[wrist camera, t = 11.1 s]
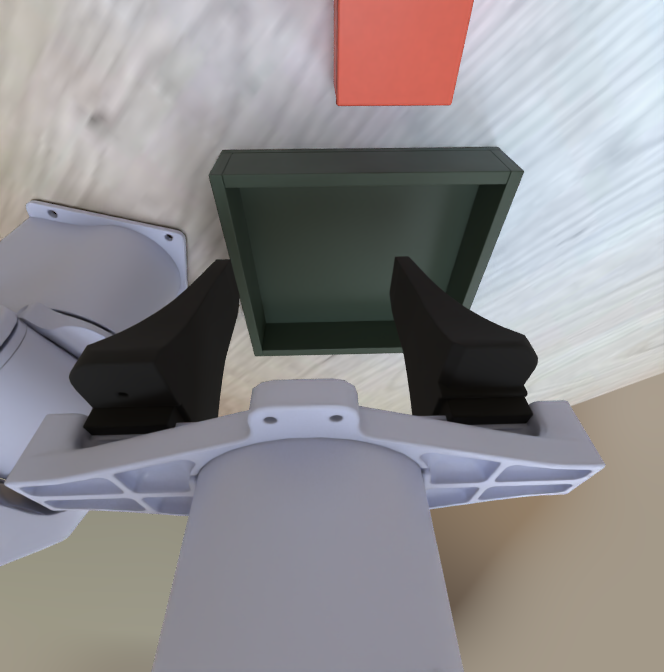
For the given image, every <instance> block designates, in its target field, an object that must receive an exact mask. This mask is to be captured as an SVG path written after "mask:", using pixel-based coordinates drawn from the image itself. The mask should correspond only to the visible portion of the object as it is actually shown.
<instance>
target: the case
mask: <svg viewBox="0 0 664 672" xmlns="http://www.w3.org/2000/svg"><path fill="white" fill-rule="evenodd" d="M473 2H474V0H334V88H335V94H336V104H337V105H338V106H411V105H451V103H452V99H453V94H454V90H455V85H456V81H457V76H458V71H459V67H460V62H461V57H462V53H463V48H464V44H465V39H466V34H467V30H468V25H469V20H470V16H471V11H472V7H473Z"/></svg>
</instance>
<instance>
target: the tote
mask: <svg viewBox="0 0 664 672" xmlns="http://www.w3.org/2000/svg"><path fill="white" fill-rule="evenodd" d="M523 173H524V171H523V170H522V169H521V168H520V167H519V166H518V165H517V164H516V163H515V162H514V161H513V160H511V159H510V158H509V157H508V156H507V155H506V154H505V153H504V152H503V151H502V150H501V149H500V148H498V147H475V148H382V149H290V150H222V152H221V154H220V156H219V157H218V159H217V161H216V163H215V165H214V166H213V168H212V170H211V172H210V173H209V179H210V183H211V187H212V191H213V195H214V199H215V202H216V206H217V210H218V214H219V218H220V222H221V226H222V230H223V234H224V238H225V242H226V245H227V249H228V253H229V257H230V259H231V263H232V267H233V271H234V275H235V279H236V283H237V287H238V291H239V295H240V300H241V304H242V308H243V312H244V316H245V320H246V324H247V327H248V331H249V335H250V339H251V343H252V347H253V351H254V355H255V356H290V355H333V354H376V353H403V350H402V346H401V343H400V339H399V336H398V332H397V329H396V325H395V322H394V318H393V314H392V310H391V303H390V295H389V292H390V285H391V279H392V273H393V266H394V260H395V257H397V256H409V257H410V258H411V259H412V260H413V261H414V262H415V263H416V264H417V266H418V267H419V268H420V269H421V270H422V271H423V272H424V273H425V274H426V275H427V276H428V277H429V278H430V279H431V280H432V281H433V282H434V283H435V284H436V285H437V286H438V287H440V288H441V289H442V290H443V291H444V292H445V293H447V294H448V295H449V296H450V297H452V298H453V299H454V300H456V301H457V302H459V303H460V304H461V305H463V306H464V307H466V308H467V309H469V310H470V307H471V305H472V302H473V300H474V297H475V295H476V292H477V290H478V287H479V284H480V282H481V279H482V277H483V274H484V272H485V269H486V267H487V264H488V262H489V259H490V257H491V254H492V252H493V249H494V246H495V244H496V241H497V239H498V236H499V234H500V231H501V229H502V226H503V224H504V221H505V219H506V216H507V213H508V211H509V208H510V206H511V203H512V201H513V198H514V196H515V193H516V191H517V188H518V186H519V183H520V181H521V178H522V175H523Z"/></svg>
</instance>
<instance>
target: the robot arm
mask: <svg viewBox="0 0 664 672" xmlns="http://www.w3.org/2000/svg"><path fill="white" fill-rule="evenodd" d="M26 209H27V212H28V214H29V218H28V219H27V220H25V221H24V222H23V223H22V224H20V225H19V226H18V227H17V228H16V229H14V230H13V231H12V232H11V233H10V234H8V235H7V236H6V237H5V238H3V239H2V240H1V241H0V478H3V479H6V481H5V480H2V479H0V566H2V565H5V564H7V563H10V562H12V561H15V560H17V559H20V558H22V557H25V556H27V555H30V554H33V553H35V552H38V551H40V550H42V549H45V548H47V547H49V546H52V545H54V544H56V543H59V542H61V541H63V540H65V539H66V538H68V537H69V536H70V534H71V533H72V532H73V530H74V529H75V528H76V526H77V525H78V524H79V523H80V521H81V520H82V519H83V518H84V516H85V515H86V514H87V513H88V512H89V511H90V510H95V511H98V510H99V511H119V512H136V513H149V514H164V515H178V516H189V517H188V521H187V525H186V529H185V534H184V538H183V542H182V547H181V550H180V555H179V559H178V563H177V567H176V571H175V575H174V579H173V584H172V588H171V592H170V596H169V600H168V605H167V609H166V613H165V618H164V622H163V625H162V629H161V634H160V638H159V643H158V646H157V650H156V654H155V659H154V663H153V667H152V671H151V672H464V670H463V666H462V661H461V656H460V651H459V647H458V642H457V638H456V633H455V628H454V623H453V618H452V614H451V609H450V604H449V600H448V595H447V590H446V586H445V581H444V576H443V571H442V567H441V562H440V557H439V552H438V548H437V543H436V538H435V533H434V529H433V524H432V519H431V515H430V510H429V509H435V508H442V507H449V506H457V505H464V504H471V503H478V502H485V501H493V500H500V499H508V498H516V497H527V496H538V495H557V494H567V493H569V492H570V491H571V490H573V489H574V488H576V487H577V486H579V485H580V484H581V483H583V482H584V481H586V480H587V479H589V478H590V477H591V476H593V475H594V474H595V473H597V472H599V471H600V470H601V469H603V468H604V467H605V463H604V462H603V460H602V458H601V456H600V455H599V453H598V451H597V450H596V448H595V446H594V445H593V443H592V441H591V440H590V438H589V436H588V435H587V433H586V431H585V430H584V428H583V426H582V425H581V423H580V421H579V419H578V418H577V416H576V414H575V413H574V411H573V409H572V408H571V406H570V404H569V403H568V401H565V400H560V401H537V402H533V403H531V404H529V405H528V403H527V401H526V399H525V397H526V396H527V390H526V389H525V387H524V384H525V382H526V381H527V380H528V378H529V377H530V375H531V374H532V372H533V371H534V370H535V368H536V366H537V364H538V357H537V355H536V353H535V351H534V349H533V348H532V346H531V344H530V342H529V341H528V339H527V338H526V336H525V335H523V334H520V333H517V332H515V331H512V330H510V329H507V328H504V327H502V326H500V325H497V324H495V323H493V322H491V321H489V320H487V319H485V318H483V317H481V316H479V315H478V314H476V313H474V312H472V311H471V310H469V309H467V308H466V307H464V306H463V305H461V304H460V303H459V302H457V301H456V300H454V299H453V298H452V297H450V296H449V295H448V294H447V293H445V292H444V291H443V290H442V289H441V288H440V287H438V286H437V285H436V284H435V283H434V282H433V281H432V280H431V279H430V278H429V277H428V276H427V275H426V274H425V273H424V272H423V271H422V270H421V269H420V268H419V267H418V266H417V264H416V263H415V262H414V261H413V260H412V259H411V258H410V257H409V256H397V257H395V260H394V266H393V273H392V279H391V285H390V292H389V295H390V303H391V310H392V314H393V318H394V322H395V325H396V329H397V332H398V336H399V339H400V343H401V346H402V350H403V354H404V359H405V365H406V371H407V378H408V385H409V392H410V400H411V408H412V415H408V414H402V413H397V412H391V411H385V410H380V409H374V408H368V407H362V406H359V404H358V394H357V391H356V388H355V386H353V385H352V384H350V383H348V382H347V381H345V380H340V379H292V380H271V381H266V382H262V383H260V384H259V385H257V386H256V387H254V388H253V389H252V395H251V401H250V408H249V410H247V411H243V412H238V413H234V414H230V415H226V416H221V417H218V411H219V401H220V393H221V385H222V378H223V371H224V365H225V359H226V355H227V351H228V348H229V344H230V341H231V337H232V334H233V330H234V326H235V323H236V319H237V315H238V308H239V299H240V295H239V291H238V287H237V283H236V279H235V275H234V271H233V267H232V263H231V259H225V260H216V261H215V262H213V263H212V264H211V265H210V266H209V267H208V268H207V269H206V271H205V272H204V273H203V274H202V275H201V276H200V277H198V278H197V279H196V280H195V281H194V282H193V283H192V284H191V285H190V286H189V287H188V279H187V258H186V238H185V235H184V234H183V233H182V232H181V231H178V230H174V229H170V228H165V227H160V226H155V225H150V224H146V223H141V222H136V221H131V220H127V219H122V218H117V217H112V216H107V215H103V214H98V213H93V212H88V211H84V210H79V209H74V208H69V207H64V206H60V205H55V204H50V203H45V202H41V201H36V200H31V201H29V202H28V203H27V204H26ZM51 210H52V211H54V212H56V214H57V215H56V214H54V213H53V212H52V211H51ZM167 234H169V235H171V236H172V237H173V238H170V237H168V236H167Z"/></svg>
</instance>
